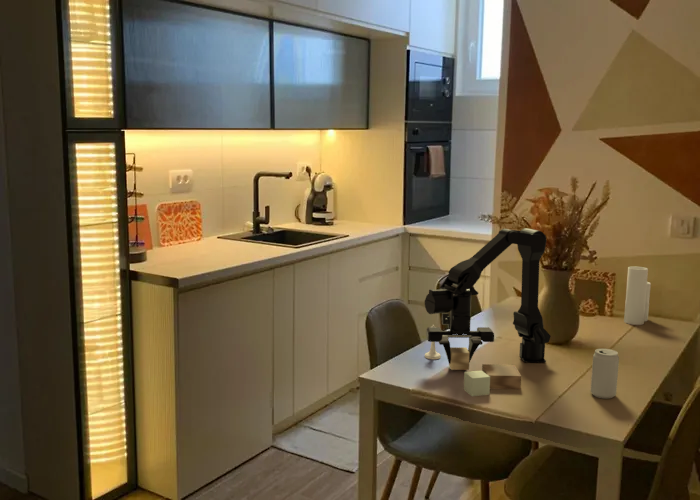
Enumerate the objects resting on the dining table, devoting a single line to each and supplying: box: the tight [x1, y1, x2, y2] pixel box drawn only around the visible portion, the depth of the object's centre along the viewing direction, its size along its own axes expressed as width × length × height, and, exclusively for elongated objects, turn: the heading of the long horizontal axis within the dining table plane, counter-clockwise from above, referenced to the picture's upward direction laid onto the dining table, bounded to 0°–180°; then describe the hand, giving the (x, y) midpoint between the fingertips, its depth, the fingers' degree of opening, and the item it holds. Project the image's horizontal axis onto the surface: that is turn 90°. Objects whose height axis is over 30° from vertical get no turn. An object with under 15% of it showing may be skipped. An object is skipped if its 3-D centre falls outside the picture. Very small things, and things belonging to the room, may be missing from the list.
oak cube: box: [448, 346, 470, 371], centre depth 206 cm, size 5×5×5 cm
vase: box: [623, 265, 652, 326], centre depth 259 cm, size 11×7×20 cm, turn 144°
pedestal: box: [481, 363, 522, 390], centre depth 197 cm, size 9×9×4 cm
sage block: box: [463, 369, 490, 397], centre depth 190 cm, size 5×5×5 cm
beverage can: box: [590, 348, 620, 400], centre depth 188 cm, size 6×6×12 cm
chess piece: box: [424, 324, 442, 360], centre depth 218 cm, size 5×5×10 cm
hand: (458, 363), depth 207 cm, fingers closed on oak cube, 5 cm apart
